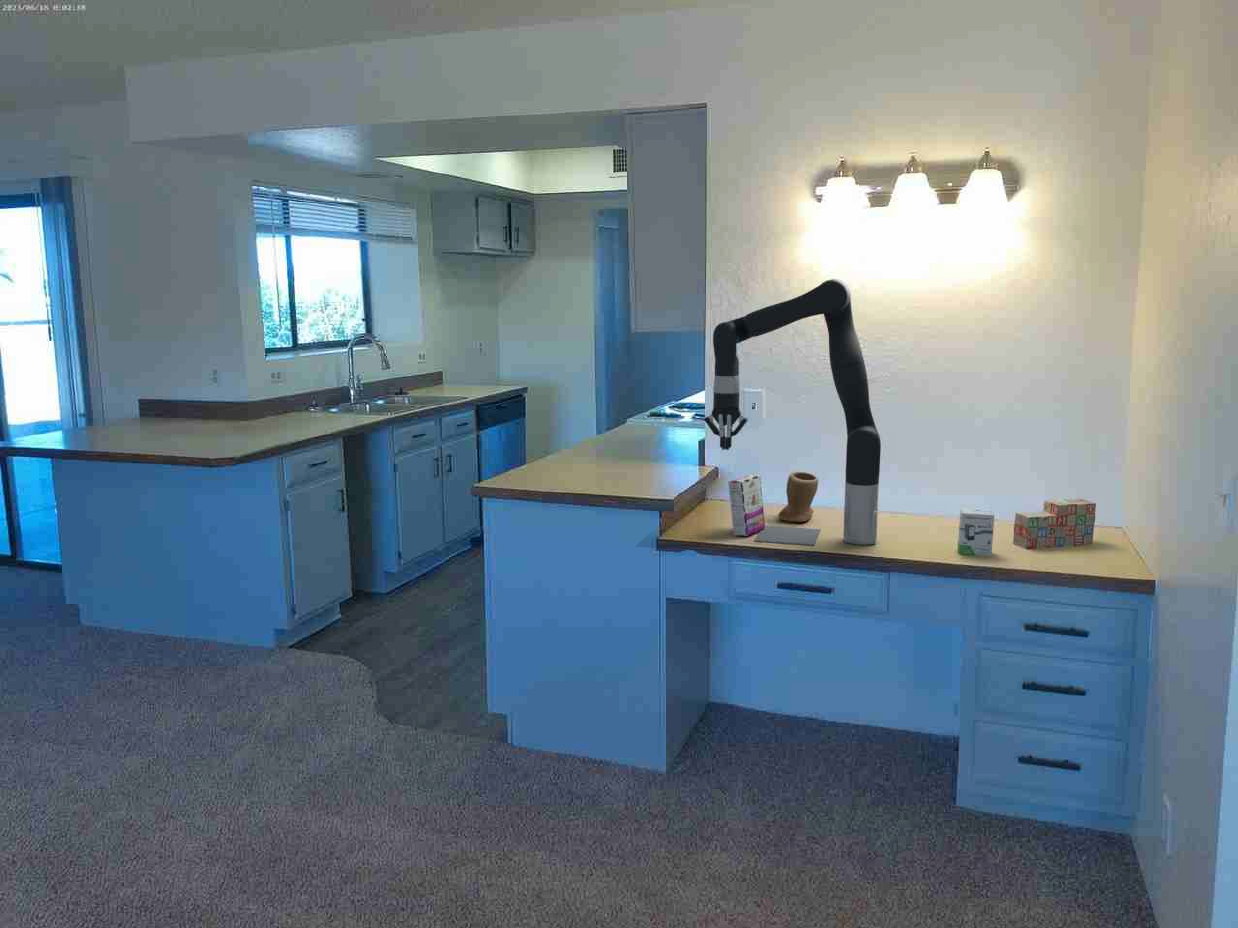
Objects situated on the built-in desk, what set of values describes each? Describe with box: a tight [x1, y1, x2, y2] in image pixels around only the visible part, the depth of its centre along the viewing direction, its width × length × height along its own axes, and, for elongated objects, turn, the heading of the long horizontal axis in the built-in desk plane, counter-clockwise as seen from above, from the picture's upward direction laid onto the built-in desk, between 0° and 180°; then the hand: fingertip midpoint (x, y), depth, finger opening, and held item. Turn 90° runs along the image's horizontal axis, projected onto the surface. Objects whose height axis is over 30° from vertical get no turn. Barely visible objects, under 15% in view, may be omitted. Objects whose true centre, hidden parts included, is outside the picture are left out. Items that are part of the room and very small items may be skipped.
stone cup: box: [777, 470, 819, 523], centre depth 305 cm, size 15×12×15 cm
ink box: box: [957, 508, 995, 557], centre depth 266 cm, size 9×5×12 cm, turn 75°
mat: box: [753, 525, 821, 547], centre depth 286 cm, size 17×18×1 cm
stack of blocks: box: [1012, 498, 1097, 550], centre depth 274 cm, size 21×6×12 cm, turn 103°
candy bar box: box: [728, 474, 766, 537], centre depth 288 cm, size 11×5×16 cm, turn 143°
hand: (725, 449), depth 287 cm, fingers closed
